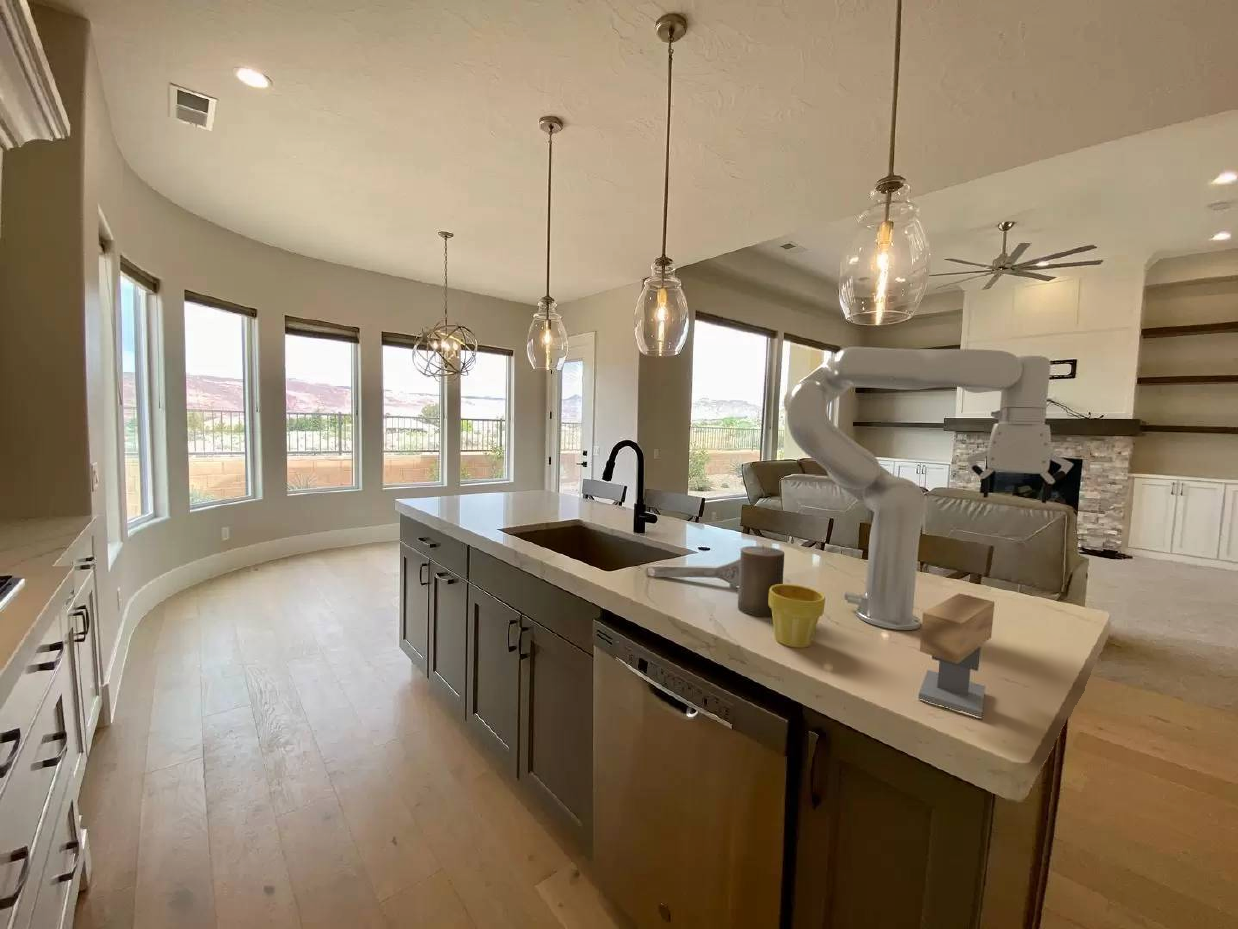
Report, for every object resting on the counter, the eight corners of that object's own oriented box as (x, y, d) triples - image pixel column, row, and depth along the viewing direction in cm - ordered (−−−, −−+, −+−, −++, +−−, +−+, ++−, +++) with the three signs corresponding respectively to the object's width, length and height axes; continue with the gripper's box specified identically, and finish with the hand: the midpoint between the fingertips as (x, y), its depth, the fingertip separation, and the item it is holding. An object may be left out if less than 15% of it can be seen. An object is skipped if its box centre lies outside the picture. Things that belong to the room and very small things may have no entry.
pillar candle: (786, 618, 112) (791, 550, 111) (741, 616, 112) (745, 548, 111) (774, 603, 122) (778, 541, 121) (733, 601, 122) (737, 539, 121)
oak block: (919, 651, 77) (923, 612, 77) (956, 627, 87) (959, 593, 87) (957, 664, 73) (961, 623, 73) (991, 637, 84) (994, 601, 83)
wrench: (648, 584, 142) (759, 588, 131) (646, 586, 140) (759, 590, 129) (646, 555, 141) (758, 557, 131) (644, 557, 140) (757, 558, 129)
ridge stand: (918, 700, 79) (923, 647, 79) (926, 676, 87) (931, 628, 87) (981, 720, 75) (986, 663, 74) (984, 693, 82) (989, 642, 82)
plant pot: (833, 646, 98) (837, 596, 98) (795, 656, 93) (799, 604, 92) (791, 626, 107) (794, 581, 106) (754, 635, 102) (757, 587, 101)
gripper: (969, 416, 108) (962, 496, 109) (1079, 417, 97) (1070, 507, 99) (972, 417, 114) (965, 493, 115) (1076, 419, 103) (1067, 503, 105)
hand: (1013, 499), depth 107 cm, fingers open, 9 cm apart
